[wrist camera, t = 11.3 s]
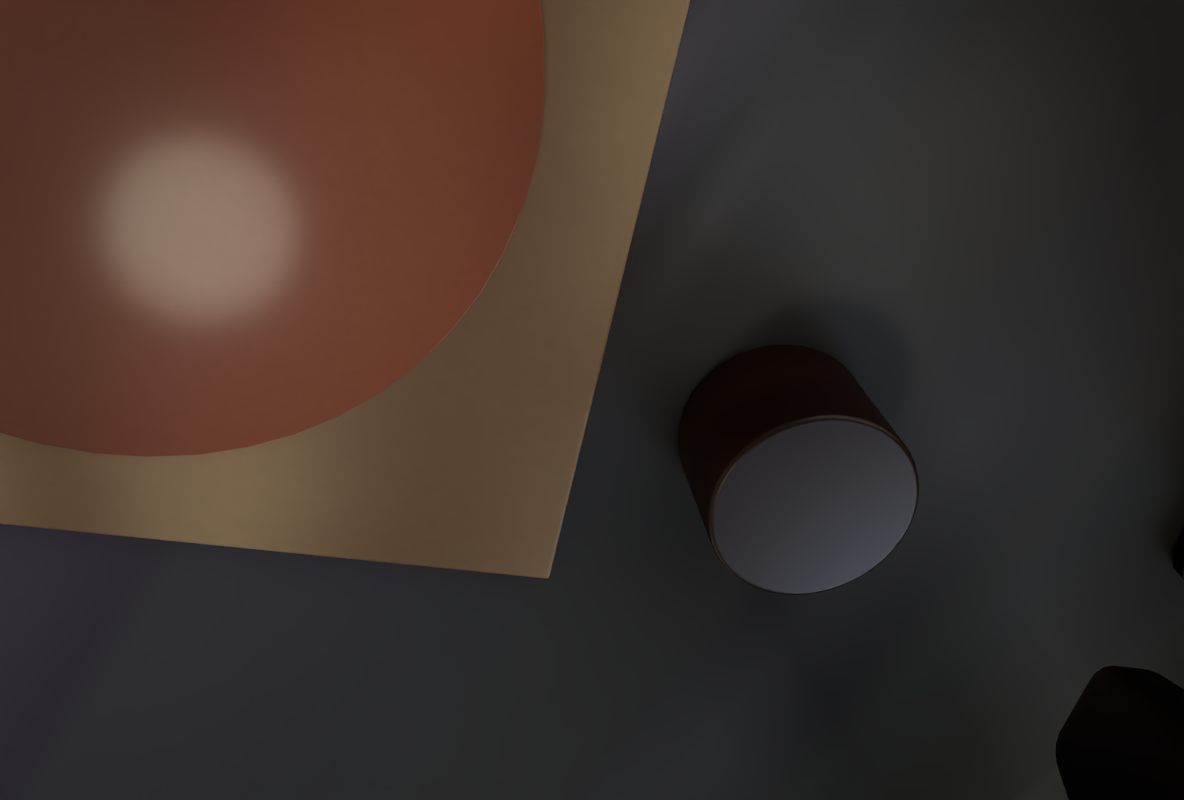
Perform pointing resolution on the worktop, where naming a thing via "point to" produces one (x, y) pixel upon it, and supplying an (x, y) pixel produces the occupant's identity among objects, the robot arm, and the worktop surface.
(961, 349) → the worktop surface
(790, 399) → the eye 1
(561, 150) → the face board
